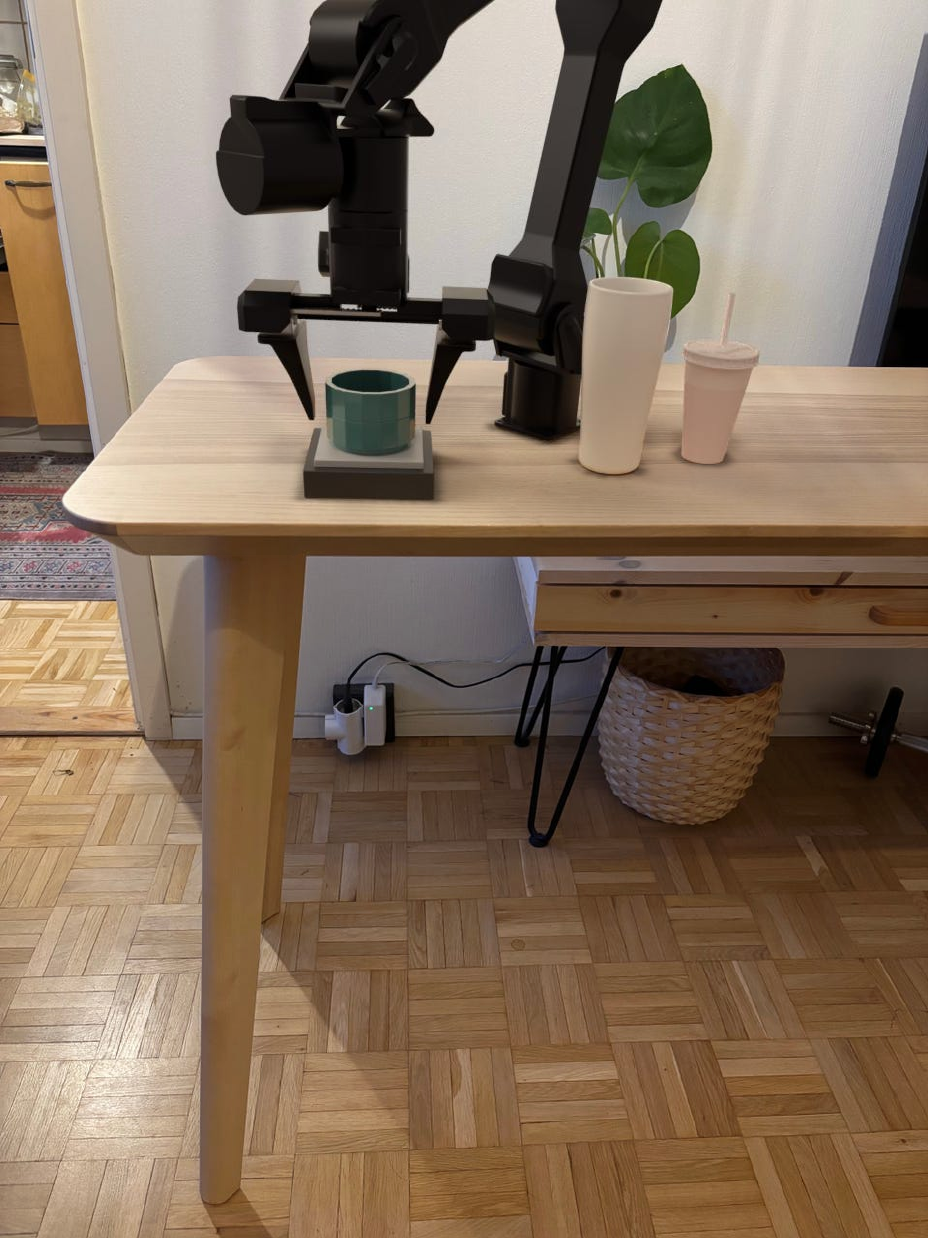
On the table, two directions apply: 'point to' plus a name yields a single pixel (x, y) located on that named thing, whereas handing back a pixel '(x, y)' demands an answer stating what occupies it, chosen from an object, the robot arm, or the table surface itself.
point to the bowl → (370, 410)
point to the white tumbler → (620, 368)
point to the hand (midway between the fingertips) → (370, 420)
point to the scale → (369, 470)
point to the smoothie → (714, 392)
